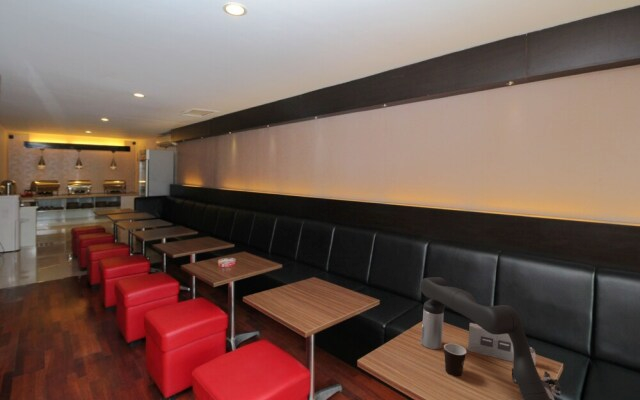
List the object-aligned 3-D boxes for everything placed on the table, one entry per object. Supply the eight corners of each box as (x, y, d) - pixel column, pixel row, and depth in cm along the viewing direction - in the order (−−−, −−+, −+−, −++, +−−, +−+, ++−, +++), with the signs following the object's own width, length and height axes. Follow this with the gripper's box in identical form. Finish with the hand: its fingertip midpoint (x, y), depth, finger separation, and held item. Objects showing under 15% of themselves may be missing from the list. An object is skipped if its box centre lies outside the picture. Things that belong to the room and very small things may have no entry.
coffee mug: (455, 380, 124) (456, 356, 123) (438, 368, 131) (439, 346, 131) (474, 373, 129) (475, 350, 128) (456, 361, 137) (458, 340, 136)
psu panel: (467, 351, 146) (469, 326, 145) (468, 346, 150) (469, 322, 149) (523, 365, 136) (525, 338, 135) (521, 359, 140) (523, 334, 139)
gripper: (567, 392, 101) (555, 366, 115) (516, 379, 107) (510, 355, 121) (565, 414, 101) (553, 385, 116) (514, 399, 107) (509, 374, 122)
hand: (531, 370), depth 119 cm, fingers open, 8 cm apart
